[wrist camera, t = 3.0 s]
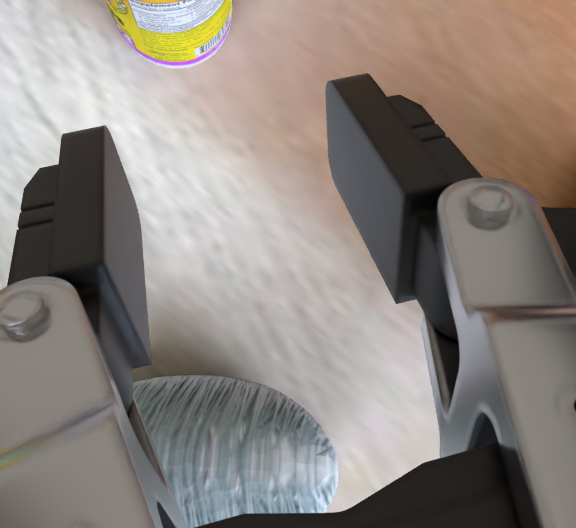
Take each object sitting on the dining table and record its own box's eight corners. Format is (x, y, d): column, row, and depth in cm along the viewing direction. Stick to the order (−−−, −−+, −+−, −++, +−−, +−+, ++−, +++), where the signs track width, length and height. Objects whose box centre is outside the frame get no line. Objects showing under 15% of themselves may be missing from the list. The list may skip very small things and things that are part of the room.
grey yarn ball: (32, 568, 27) (36, 578, 19) (74, 382, 32) (91, 326, 24) (282, 576, 32) (371, 585, 24) (288, 411, 37) (364, 373, 28)
